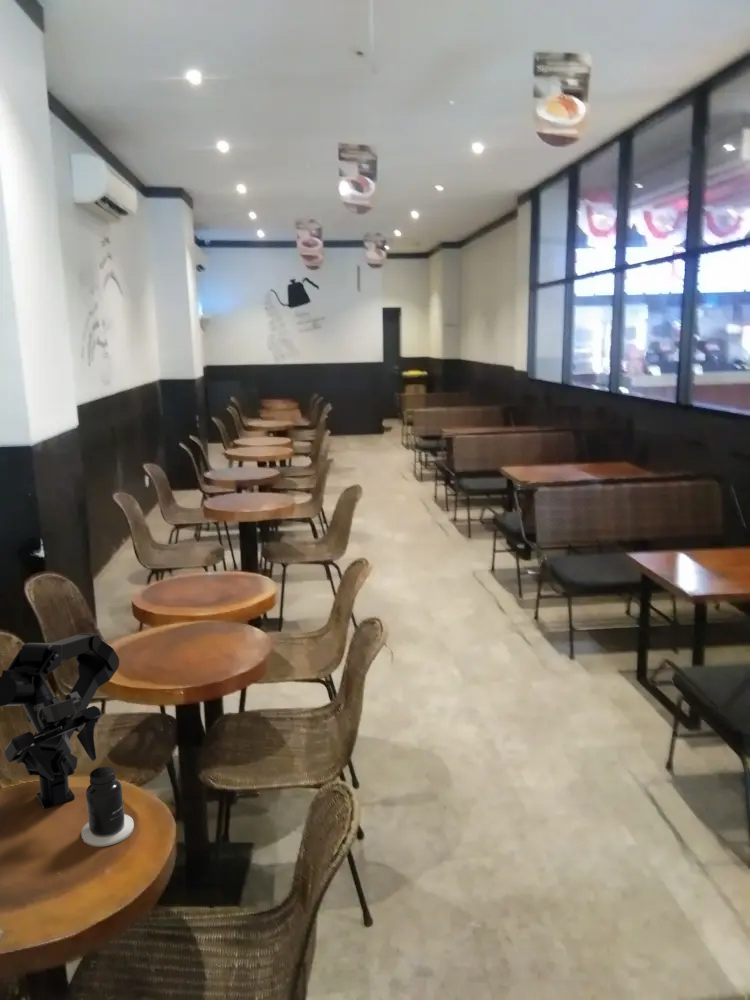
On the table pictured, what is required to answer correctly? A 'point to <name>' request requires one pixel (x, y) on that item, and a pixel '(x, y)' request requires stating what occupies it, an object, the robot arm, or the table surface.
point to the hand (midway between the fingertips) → (74, 769)
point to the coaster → (108, 839)
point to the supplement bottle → (104, 802)
